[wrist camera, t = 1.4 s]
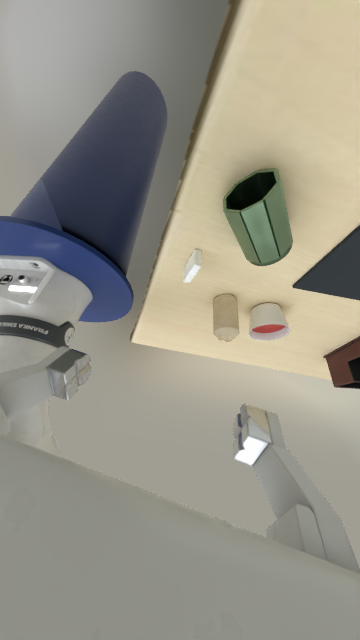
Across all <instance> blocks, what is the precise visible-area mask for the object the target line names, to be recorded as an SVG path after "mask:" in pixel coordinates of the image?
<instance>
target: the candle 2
mask: <svg viewBox="0 0 360 640" xmlns="http://www.w3.org/2000/svg"><path fill="white" fill-rule="evenodd" d="M289 333H290V327H289V325H288V323H287V321H286V318H285V316H284V314H283V312H282V310H281V308H280V306H279V305H277V304H274V303H264V304H260V305H257V306H255V307H254V308H253V309H252V310H251V314H250V324H249V336H250V337H251V338H253V339H256V340H275V339H279V338H282V337H285V336H286V335H288V334H289Z"/></svg>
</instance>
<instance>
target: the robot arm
mask: <svg viewBox="0 0 360 640" xmlns="http://www.w3.org/2000/svg"><path fill="white" fill-rule="evenodd" d="M92 299H93V296H92V293H91V291H90V290H89V288H88V287H87V286H86V285H85V284H84V283H82V282H81V281H80V280H78V279H77V278H75V277H74V276H72V275H70V274H68V273H66V272H64V271H62V270H60V269H59V268H57V267H56V266H55V265H53V264H52V263H51V262H49V261H48V260H46V259H44V258H42V257H32V256H10V255H0V640H360V569H359V566H358V563H357V561H356V558H355V555H354V553H353V550H352V547H351V545H350V542H349V539H348V536H347V534H346V531H345V528H344V526H343V523H342V520H341V518H340V517H339V515H338V514H337V513H336V511H335V510H334V509H333V507H332V506H331V505H330V503H329V502H328V501H327V499H326V498H325V497H324V495H323V494H322V493H321V491H320V490H319V489H318V488H317V486H316V485H315V484H314V482H313V481H312V480H311V478H310V477H309V476H308V474H307V473H306V472H305V471H304V469H303V468H302V466H301V465H300V464H299V462H298V461H297V460H296V458H295V457H294V456H293V454H292V453H291V452H290V451H289V450H287V449H286V447H285V443H284V439H283V435H282V431H281V427H280V423H279V419H278V416H277V414H275V413H272V412H269V411H266V410H263V409H259V408H256V407H253V406H250V405H246V404H243V405H242V407H241V410H240V411H241V413H239V414H238V415H237V416H236V418H235V422H234V428H233V432H234V433H233V434H234V436H235V438H236V440H235V442H234V459H236V460H238V461H241V462H244V463H246V464H249V465H251V466H253V469H254V471H255V473H256V476H257V478H258V480H259V482H260V484H261V486H262V488H263V490H264V492H265V495H266V497H267V499H268V501H269V503H270V505H271V507H272V509H273V511H274V513H275V515H276V518H277V520H276V521H275V522H274V523H273V524H272V525H271V526H269V527H268V528H267V529H266V533H267V537H264V536H262V535H259V534H256V533H254V532H251V531H249V530H246V529H244V528H241V527H239V526H236V525H233V524H231V523H228V522H226V521H223V520H221V519H218V518H216V517H213V516H210V515H208V514H205V513H203V512H200V511H198V510H195V509H193V508H190V507H188V506H185V505H182V504H180V503H177V502H175V501H172V500H170V499H167V498H164V497H162V496H159V495H157V494H154V493H152V492H149V491H147V490H144V489H141V488H139V487H136V486H134V485H131V484H129V483H126V482H123V481H121V480H118V479H116V478H113V477H111V476H108V475H105V474H103V473H101V472H98V471H95V470H93V469H90V468H88V467H85V466H83V465H80V464H77V463H75V462H72V461H70V460H67V459H65V458H62V457H60V448H59V444H58V442H57V440H56V439H55V437H54V436H53V434H52V432H51V429H50V424H49V413H48V410H49V409H48V408H49V399H50V398H51V397H53V396H56V397H59V398H62V399H65V400H70V399H71V398H72V396H73V395H74V394H75V393H76V392H77V391H78V386H80V385H82V384H84V383H85V382H86V381H87V380H88V377H89V376H90V373H91V366H90V365H89V362H90V360H91V359H90V355H88V354H85V353H82V352H79V351H76V350H73V349H70V348H68V347H69V345H70V343H71V341H72V338H73V335H74V331H75V326H76V324H77V322H78V320H79V318H80V316H81V315H82V313H83V312H84V310H85V309H86V307H87V306H88V305H89V303H90V302H91V301H92Z"/></svg>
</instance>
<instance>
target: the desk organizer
mask: <svg viewBox="0 0 360 640" xmlns="http://www.w3.org/2000/svg"><path fill="white" fill-rule="evenodd" d="M323 358H326V360H327V363H328V367H329V370H330V374H331V377H332V381H333V384H334V387H339V388H355V389H360V337H359V338H357V339H355V340H354V341H352V342H350V343H348V344H346V345H344V346H342V347H341V348H339V349H337V350H335V351H333V352H331V353H330V354H328V355H326V356H324V357H323Z"/></svg>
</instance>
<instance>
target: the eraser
mask: <svg viewBox="0 0 360 640" xmlns="http://www.w3.org/2000/svg"><path fill="white" fill-rule="evenodd" d="M201 253H202V251H200V250H197V249H195V250H194V252H193V253H192V255H191V257H190V259H189V260H188V262H187V264H186V265H185V267H184V279H183V281H184V282H187V283H190V282H191V280H192V279H193V277H194V276H195V274H196V273H197V272H198V270H199V269H200V267H201Z"/></svg>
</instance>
